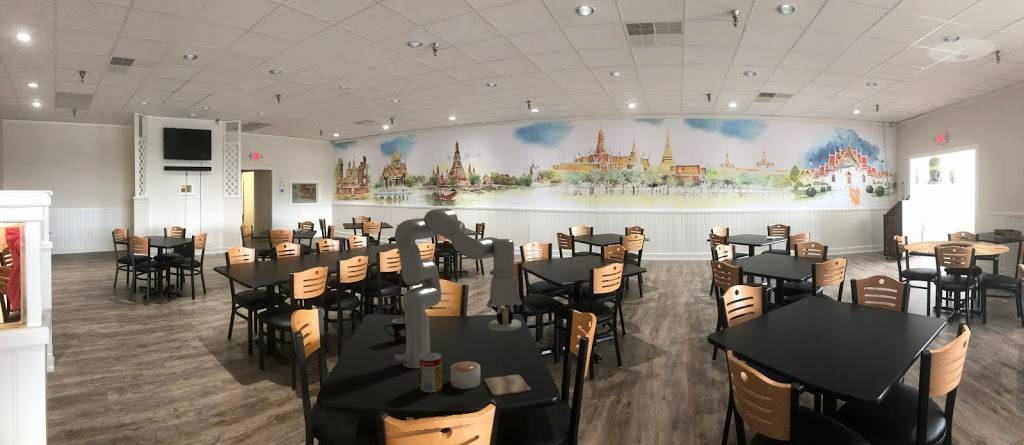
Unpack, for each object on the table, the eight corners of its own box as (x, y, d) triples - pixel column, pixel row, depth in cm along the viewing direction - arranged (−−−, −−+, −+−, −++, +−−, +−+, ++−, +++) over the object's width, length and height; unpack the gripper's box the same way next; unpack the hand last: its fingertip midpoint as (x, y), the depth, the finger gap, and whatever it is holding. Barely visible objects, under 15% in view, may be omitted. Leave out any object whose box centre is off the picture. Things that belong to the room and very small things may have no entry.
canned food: (443, 383, 178) (442, 352, 177) (440, 392, 170) (440, 360, 169) (422, 383, 177) (421, 352, 176) (418, 393, 170) (417, 360, 169)
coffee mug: (413, 338, 228) (413, 318, 228) (408, 344, 220) (407, 323, 219) (390, 338, 230) (389, 317, 229) (383, 344, 221) (383, 323, 220)
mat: (493, 396, 167) (493, 394, 167) (483, 380, 180) (483, 378, 180) (530, 390, 171) (530, 389, 171) (519, 375, 184) (519, 374, 184)
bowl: (453, 390, 172) (453, 373, 171) (448, 378, 182) (448, 362, 181) (483, 386, 175) (483, 370, 174) (476, 375, 185) (476, 359, 185)
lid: (493, 332, 166) (492, 314, 166) (485, 323, 178) (484, 306, 177) (525, 329, 170) (525, 311, 169) (515, 320, 181) (515, 303, 181)
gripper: (484, 276, 166) (485, 328, 168) (528, 273, 171) (529, 323, 172) (479, 273, 173) (480, 322, 175) (522, 270, 178) (523, 318, 180)
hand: (504, 322), depth 174 cm, fingers closed on lid, 3 cm apart
